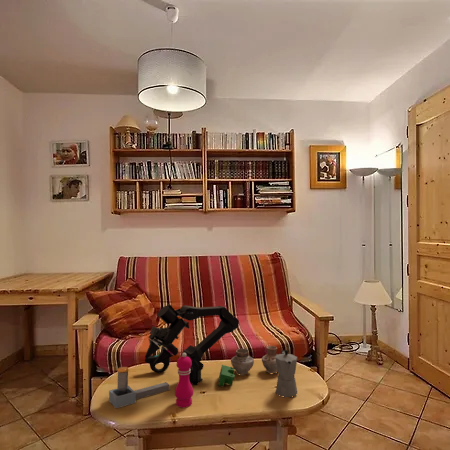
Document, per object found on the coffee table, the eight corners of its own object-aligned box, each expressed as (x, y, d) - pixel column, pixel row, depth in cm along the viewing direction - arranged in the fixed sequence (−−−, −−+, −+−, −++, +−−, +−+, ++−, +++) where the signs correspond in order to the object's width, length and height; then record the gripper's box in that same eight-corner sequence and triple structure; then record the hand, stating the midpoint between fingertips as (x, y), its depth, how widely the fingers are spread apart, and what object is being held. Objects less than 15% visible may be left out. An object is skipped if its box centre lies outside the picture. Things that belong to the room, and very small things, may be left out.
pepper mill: (176, 399, 143) (176, 349, 144) (194, 399, 143) (194, 349, 144) (173, 408, 136) (173, 355, 137) (192, 408, 136) (192, 356, 136)
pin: (128, 399, 143) (129, 366, 144) (126, 403, 139) (126, 370, 140) (118, 399, 143) (119, 366, 144) (115, 403, 139) (116, 370, 140)
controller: (170, 373, 170) (170, 352, 171) (144, 375, 168) (144, 354, 168) (170, 369, 175) (170, 349, 175) (144, 371, 172) (144, 351, 172)
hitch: (163, 385, 156) (163, 376, 156) (171, 392, 150) (171, 382, 150) (109, 400, 142) (109, 390, 142) (115, 408, 136) (115, 397, 136)
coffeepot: (301, 400, 143) (301, 355, 143) (278, 400, 142) (278, 355, 143) (292, 384, 158) (292, 343, 159) (271, 384, 158) (271, 343, 158)
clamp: (229, 395, 156) (234, 380, 153) (216, 392, 156) (220, 377, 153) (232, 375, 167) (236, 360, 164) (219, 372, 167) (224, 357, 164)
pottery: (284, 376, 167) (284, 350, 167) (232, 378, 165) (232, 352, 165) (278, 367, 178) (278, 343, 178) (229, 369, 176) (229, 344, 176)
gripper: (152, 315, 160) (128, 344, 153) (171, 323, 145) (146, 356, 138) (168, 330, 164) (145, 358, 158) (188, 339, 149) (164, 372, 142)
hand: (150, 361), depth 149 cm, fingers open, 9 cm apart
